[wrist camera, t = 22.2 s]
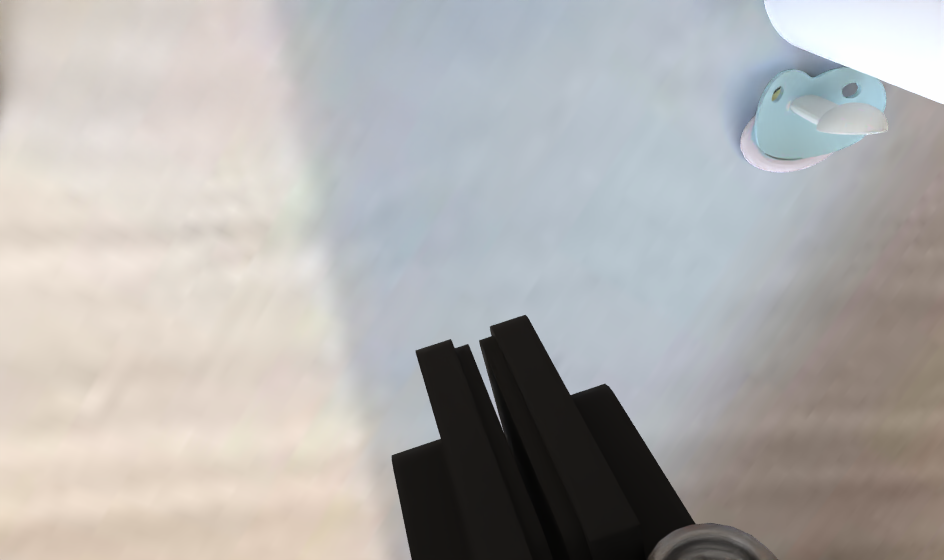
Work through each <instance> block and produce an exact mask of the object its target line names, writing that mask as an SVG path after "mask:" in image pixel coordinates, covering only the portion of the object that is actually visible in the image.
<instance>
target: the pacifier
mask: <svg viewBox="0 0 944 560" xmlns="http://www.w3.org/2000/svg"><path fill="white" fill-rule="evenodd" d="M849 83H856V84H857V86H858V90H857V91H856V93H855V94H854V95H852V96H849V97H844V96H843V95H842V90H843V88H844V87H845V86H846V85H847V84H849ZM778 87H780V89H779V90H778V91H776V92H775V93H774V91H775V90H776V89H777V88H778ZM773 93H774V94H773ZM885 106H886V94H885V89H884V87H883V85H882V83H881V82H880V81H879V79H877V78H875V77H872V76H870V75H867V74H865V73H862V72H859V71H857V70H854V69H852V68H849V67H841V68H835V69H831V70H829V71H826V72H823V73H822V74H820V75H818V76H816V77H813V78H811V77H810V76H809V75H808V74H806V73H804V72H803V71H799V70H793V69H791V70H785V71H782V72H780V73H779V74H777V75H776V76H775V77H774V78H773V79H772V80H771V81H770V82H769V83H768V85H767V86H766V88H765V90H764V92H763V94H762V96H761V98H760V102H759V105H758V108H757V112H756V115H755V116H754V117H753V118H752V119H751V120H750V121H749V123H748V124H747V125H746V127H745V128H744V131H743V133H742V136H741V151H742V153H743V156H744V158H745V159H746V160H747V161H748V162H749V163H750V164H751V165H753V166H755V167H757V168H759V169H761V170H766V171H770V172H792V171H798V170H802V169H805V168H808V167H811V166H813V165H815V164H817V163H819V162H821V161H823V160H824V159H826V158H827V157H828V156H830V155H831V154H832V153H833V152H835V151H838V150H841V149H843V148H846V147H848V146H851V145H852V144H854V143H856V142H857V141H859V140H861V139H862V138H863V137H864V136H865V135H867V134H876V133H882V132H885V131H887V130H888V122H887V119H886V117H885V115H884V114H883V112H884V109H885ZM764 152H765V153H764Z"/></svg>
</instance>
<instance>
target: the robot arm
mask: <svg viewBox="0 0 944 560" xmlns="http://www.w3.org/2000/svg"><path fill="white" fill-rule="evenodd" d="M490 331H491V335H492V336H491V337H488V338H485V339H482V340H479V342H480V347H481V351H482V354H483V358H484V362H485V365H486V369H487V373H488V376H489V380H490V383H491V387H492V391H493V394H494V398H495V402H496V405H497V409H498V413H499V416H500V420H501V424H502V427H503V430H502V427H501V425H500V422H499V420H498V417H497V415H496V412H495V410H494V407H493V405H492V402H491V400H490V397H489V395H488V392H487V390H486V387H485V385H484V382H483V380H482V377H481V375H480V372H479V370H478V367H477V365H476V362H475V360H474V357H473V355H472V352H471V350H470V347H469V345H468V344H467V345H464V346H461V347H458V348H454V346H453V343H452V340H451V339H450V340H447V341H444V342H441V343H438V344H434V345H431V346H428V347H425V348H422V349H419V350H416V355H417V358H418V362H419V365H420V369H421V372H422V375H423V379H424V382H425V386H426V389H427V393H428V396H429V399H430V403H431V406H432V410H433V413H434V416H435V420H436V423H437V427H438V430H439V434H440V437H441V439H439V440H436V441H433V442H430V443H427V444H424V445H421V446H418V447H415V448H412V449H409V450H406V451H403V452H400V453H397V454H394V455H392V464H393V470H394V475H395V479H396V484H397V489H398V494H399V499H400V504H401V509H402V514H403V519H404V524H405V529H406V534H407V538H408V543H409V548H410V553H411V558H412V560H778V559H777V557H776V556H775V555H774V554H773V553H772V552H771V551H770V550H769V549H768V548H767V547H766V546H764V545H763V544H762V543H761V542H759V541H758V540H757V539H756V538H754V537H753V536H752V535H750V534H748V533H745V532H743V531H741V530H739V529H736V528H734V527H731V526H725V525H720V524H714V523H707V524H695V522H694V521H693V519H692V518H691V516H690V514H689V513H688V511H687V510H686V508H685V506H684V505H683V503H682V502H681V500H680V498H679V497H678V495H677V494H676V492H675V490H674V489H673V487H672V486H671V484H670V482H669V481H668V479H667V478H666V476H665V474H664V473H663V471H662V470H661V468H660V466H659V465H658V463H657V462H656V460H655V458H654V457H653V455H652V454H651V452H650V450H649V449H648V447H647V445H646V444H645V442H644V441H643V439H642V437H641V436H640V434H639V433H638V431H637V429H636V428H635V426H634V425H633V423H632V421H631V420H630V418H629V417H628V415H627V413H626V412H625V410H624V409H623V407H622V405H621V404H620V402H619V401H618V399H617V397H616V396H615V394H614V393H613V391H612V390H611V389H610V387H609V386H607V385H606V384H603V385H600V386H597V387H594V388H591V389H588V390H585V391H582V392H579V393H576V394H573V395H570V394H569V392H568V390H567V388H566V387H565V385H564V383H563V381H562V379H561V377H560V376H559V374H558V372H557V370H556V368H555V366H554V365H553V363H552V361H551V359H550V357H549V355H548V353H547V352H546V350H545V348H544V346H543V344H542V342H541V341H540V339H539V337H538V335H537V333H536V331H535V330H534V328H533V326H532V324H531V322H530V320H529V319H528V317H527V316H526V315H524V316H520V317H517V318H514V319H511V320H508V321H505V322H502V323H499V324H496V325H493V326H490ZM503 431H504V432H503Z"/></svg>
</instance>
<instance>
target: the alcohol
mask: <svg viewBox="0 0 944 560" xmlns="http://www.w3.org/2000/svg"><path fill="white" fill-rule="evenodd" d="M764 3H765V8H766V12H767V14H768V16H769V18H770V21H771V23H772V25H773V26H774V28H775V29H776V30H777V31H778V33H779V34H780V35H781V37H783V38H784V39H785V40H786V41H788V42H789V43H790V44H792V45H793V46H796V47H798V48H801V49H803V50H805V51H808V52H810V53H813V54H816V55H818V56H821V57H823V58H826V59H828V60H831V61H834V62H836V63H839V64H841V65H844V66H846V67H849V68H852V69H854V70H857V71H859V72H862V73H865V74H867V75H870V76H872V77H875V78H877V79H880V80H883V81H885V82H888V83H890V84H893V85H895V86H898V87H901V88H903V89H906V90H908V91H911V92H913V93H916V94H919V95H921V96H924V97H926V98H929V99H931V100H934V101H937V102H939V103H942V104H944V0H764Z"/></svg>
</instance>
